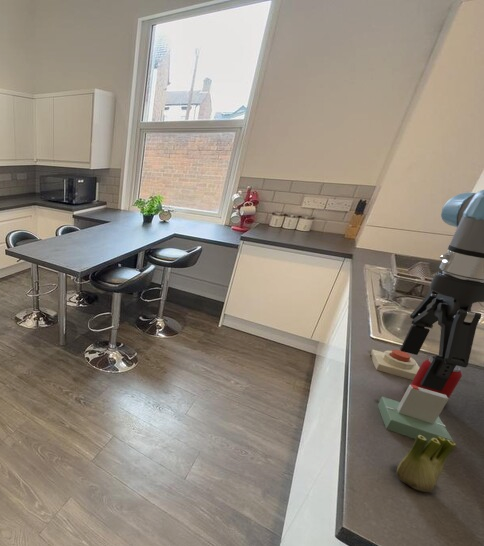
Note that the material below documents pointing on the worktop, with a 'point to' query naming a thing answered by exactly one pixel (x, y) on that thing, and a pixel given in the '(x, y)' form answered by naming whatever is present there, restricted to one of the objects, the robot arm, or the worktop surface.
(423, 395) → the handle
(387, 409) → the plate
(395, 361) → the button box
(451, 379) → the beverage can
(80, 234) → the worktop surface
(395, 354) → the button
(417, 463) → the fennel bulb
